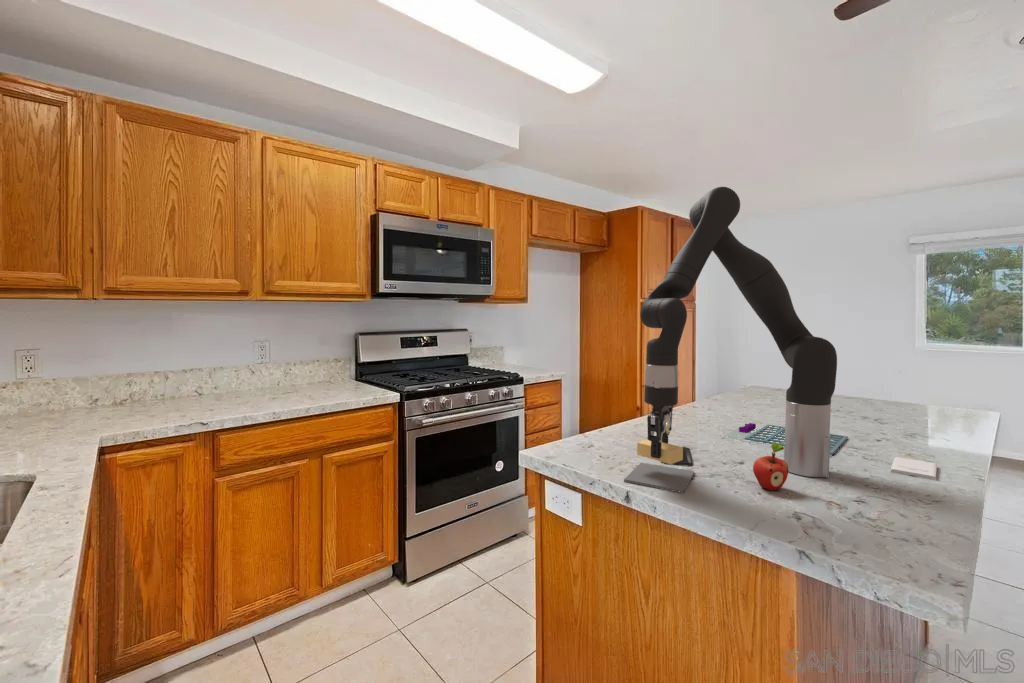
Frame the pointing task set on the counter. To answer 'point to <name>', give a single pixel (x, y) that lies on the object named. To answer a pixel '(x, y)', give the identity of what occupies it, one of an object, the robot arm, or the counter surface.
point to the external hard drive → (914, 468)
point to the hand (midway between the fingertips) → (659, 453)
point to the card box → (668, 452)
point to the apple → (771, 470)
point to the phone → (685, 457)
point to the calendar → (747, 435)
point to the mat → (660, 477)
